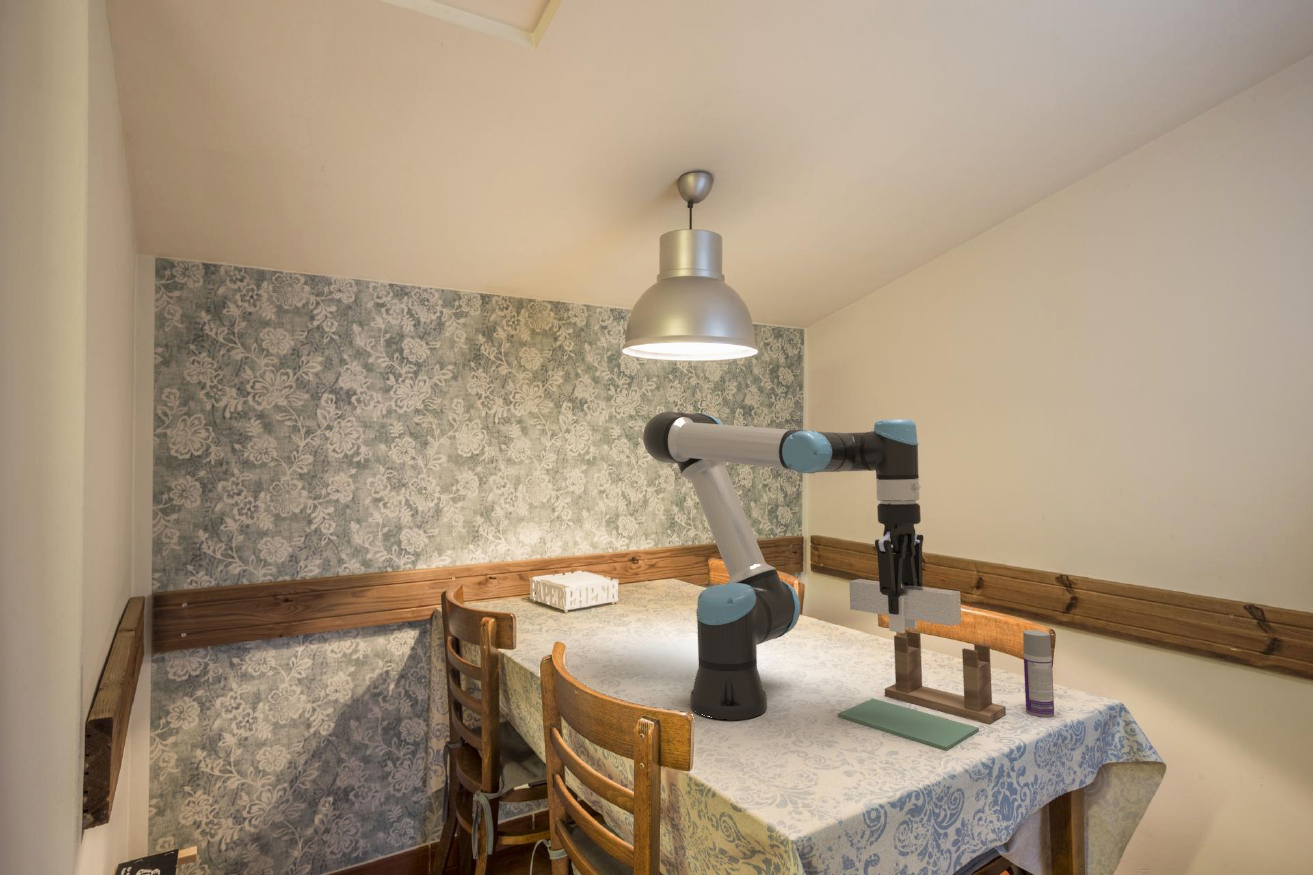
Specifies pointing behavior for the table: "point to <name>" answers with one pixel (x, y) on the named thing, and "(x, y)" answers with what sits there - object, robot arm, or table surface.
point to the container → (1038, 673)
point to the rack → (968, 706)
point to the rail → (908, 602)
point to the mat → (909, 723)
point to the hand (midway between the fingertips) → (903, 629)
